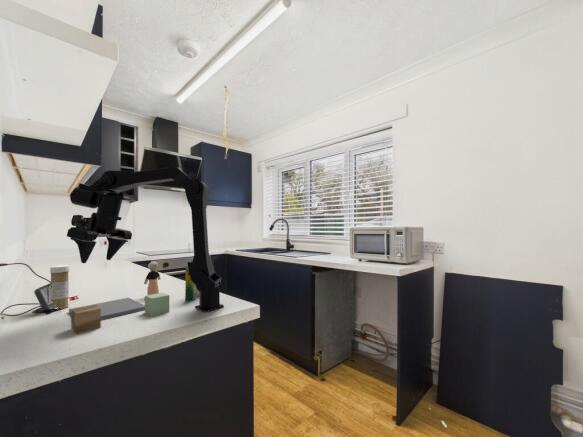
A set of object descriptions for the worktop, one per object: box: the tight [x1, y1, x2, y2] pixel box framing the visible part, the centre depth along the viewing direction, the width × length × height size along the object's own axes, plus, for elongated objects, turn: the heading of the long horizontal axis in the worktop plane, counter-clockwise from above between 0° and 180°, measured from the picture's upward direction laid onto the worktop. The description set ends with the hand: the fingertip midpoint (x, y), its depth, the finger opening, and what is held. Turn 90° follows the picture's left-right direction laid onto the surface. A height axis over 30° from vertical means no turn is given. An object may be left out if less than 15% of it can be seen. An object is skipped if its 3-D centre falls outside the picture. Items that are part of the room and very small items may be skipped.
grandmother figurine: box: [143, 261, 161, 296], centre depth 98 cm, size 8×4×13 cm, turn 179°
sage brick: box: [144, 292, 170, 317], centre depth 79 cm, size 5×5×5 cm
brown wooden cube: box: [70, 304, 102, 335], centre depth 67 cm, size 5×5×5 cm
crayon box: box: [184, 265, 199, 302], centre depth 95 cm, size 7×3×12 cm, turn 179°
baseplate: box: [68, 297, 145, 321], centre depth 81 cm, size 16×16×1 cm
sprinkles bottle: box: [49, 264, 70, 310], centre depth 85 cm, size 5×5×13 cm
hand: (96, 261), depth 82 cm, fingers open, 9 cm apart
